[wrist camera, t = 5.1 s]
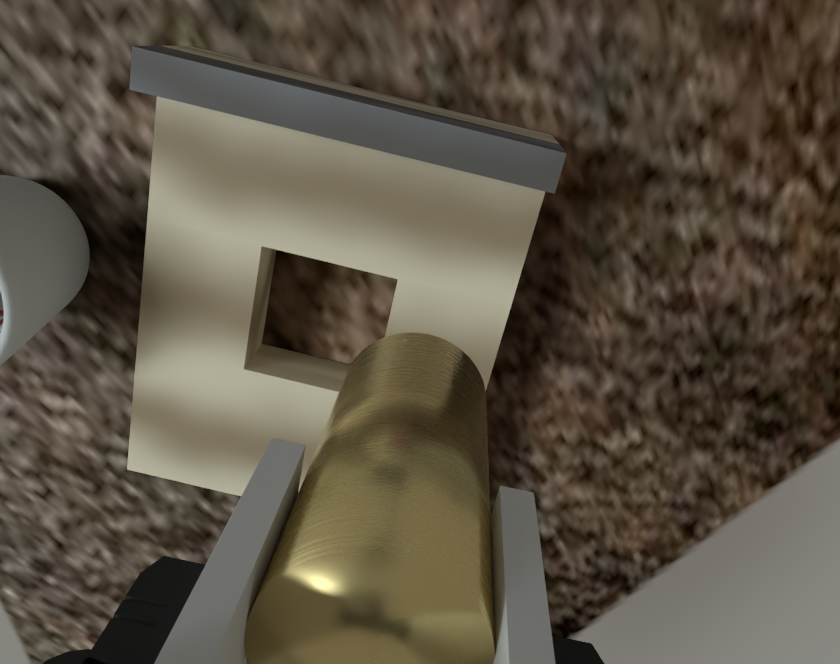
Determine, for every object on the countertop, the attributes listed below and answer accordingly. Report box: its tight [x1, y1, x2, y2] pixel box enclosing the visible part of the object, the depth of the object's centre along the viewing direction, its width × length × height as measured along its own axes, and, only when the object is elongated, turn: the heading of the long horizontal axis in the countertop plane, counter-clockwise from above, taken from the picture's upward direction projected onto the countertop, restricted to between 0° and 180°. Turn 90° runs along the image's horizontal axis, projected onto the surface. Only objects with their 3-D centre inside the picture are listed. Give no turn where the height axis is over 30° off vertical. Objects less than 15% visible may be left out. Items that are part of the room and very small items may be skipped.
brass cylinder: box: [244, 332, 495, 664], centre depth 17 cm, size 4×4×10 cm
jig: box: [127, 46, 567, 496], centre depth 32 cm, size 20×16×6 cm
